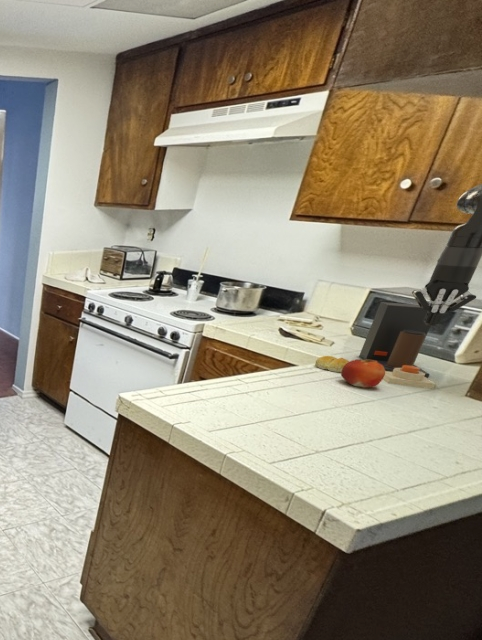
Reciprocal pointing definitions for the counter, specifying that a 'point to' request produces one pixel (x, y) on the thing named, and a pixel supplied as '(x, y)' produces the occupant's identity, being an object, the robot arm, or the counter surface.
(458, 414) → the counter surface
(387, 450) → the counter surface
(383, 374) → the tomato
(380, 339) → the dark grey orange-tab panel
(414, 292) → the robot arm
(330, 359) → the bread roll
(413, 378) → the switch block
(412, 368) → the power button
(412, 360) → the brown wooden block
